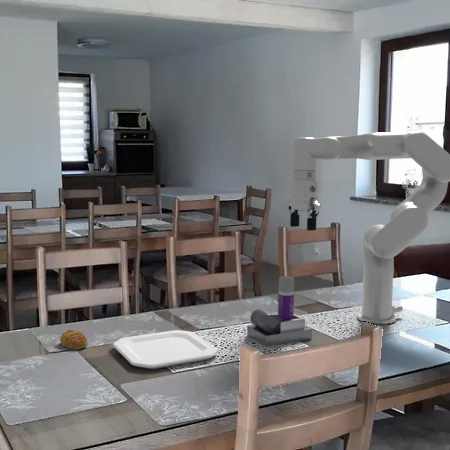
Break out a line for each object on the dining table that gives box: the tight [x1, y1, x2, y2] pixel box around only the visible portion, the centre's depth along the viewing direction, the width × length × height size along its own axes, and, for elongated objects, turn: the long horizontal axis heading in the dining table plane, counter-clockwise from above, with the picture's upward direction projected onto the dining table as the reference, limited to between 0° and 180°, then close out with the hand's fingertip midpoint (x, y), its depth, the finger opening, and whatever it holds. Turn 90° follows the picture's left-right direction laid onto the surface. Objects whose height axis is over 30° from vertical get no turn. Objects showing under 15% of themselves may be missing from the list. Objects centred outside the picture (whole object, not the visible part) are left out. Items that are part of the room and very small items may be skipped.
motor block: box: [246, 309, 313, 347], centre depth 184 cm, size 16×11×8 cm
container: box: [277, 275, 295, 321], centre depth 185 cm, size 5×5×15 cm
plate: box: [112, 329, 219, 370], centre depth 171 cm, size 25×25×2 cm
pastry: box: [59, 329, 88, 350], centre depth 176 cm, size 9×7×4 cm
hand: (302, 228), depth 201 cm, fingers open, 9 cm apart
